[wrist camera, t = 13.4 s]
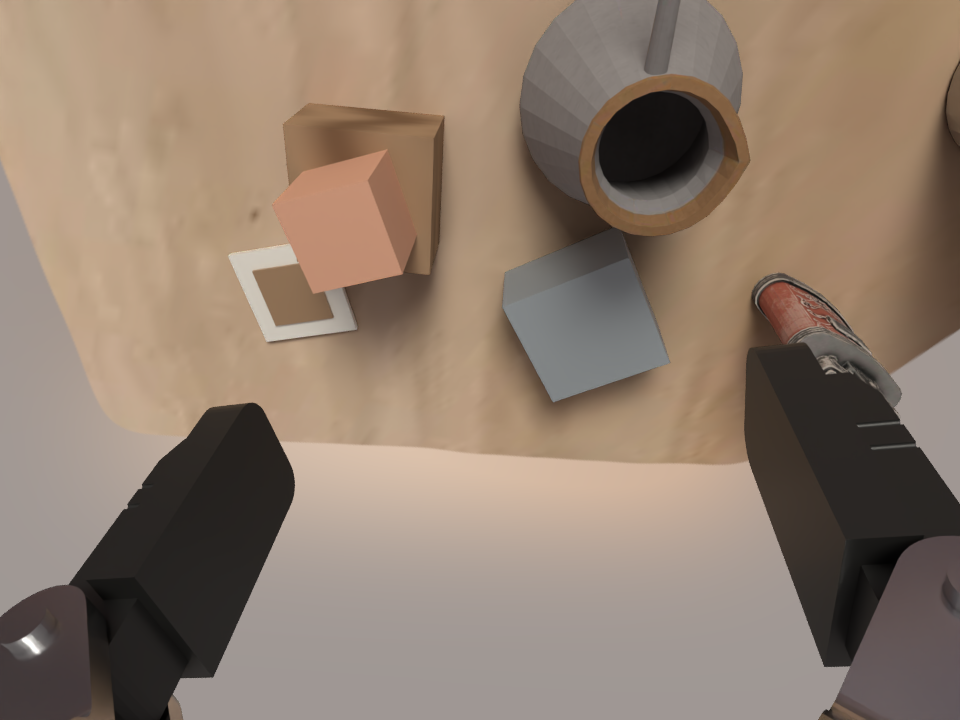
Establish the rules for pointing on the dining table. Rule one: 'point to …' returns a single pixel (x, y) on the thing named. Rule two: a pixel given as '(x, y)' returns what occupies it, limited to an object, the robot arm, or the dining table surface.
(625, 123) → the coffee pot
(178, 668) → the robot arm
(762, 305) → the lighter
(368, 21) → the dining table surface
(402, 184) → the walnut block
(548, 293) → the slate block
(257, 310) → the white square frame
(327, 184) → the terracotta cube
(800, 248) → the dining table surface
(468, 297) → the dining table surface
